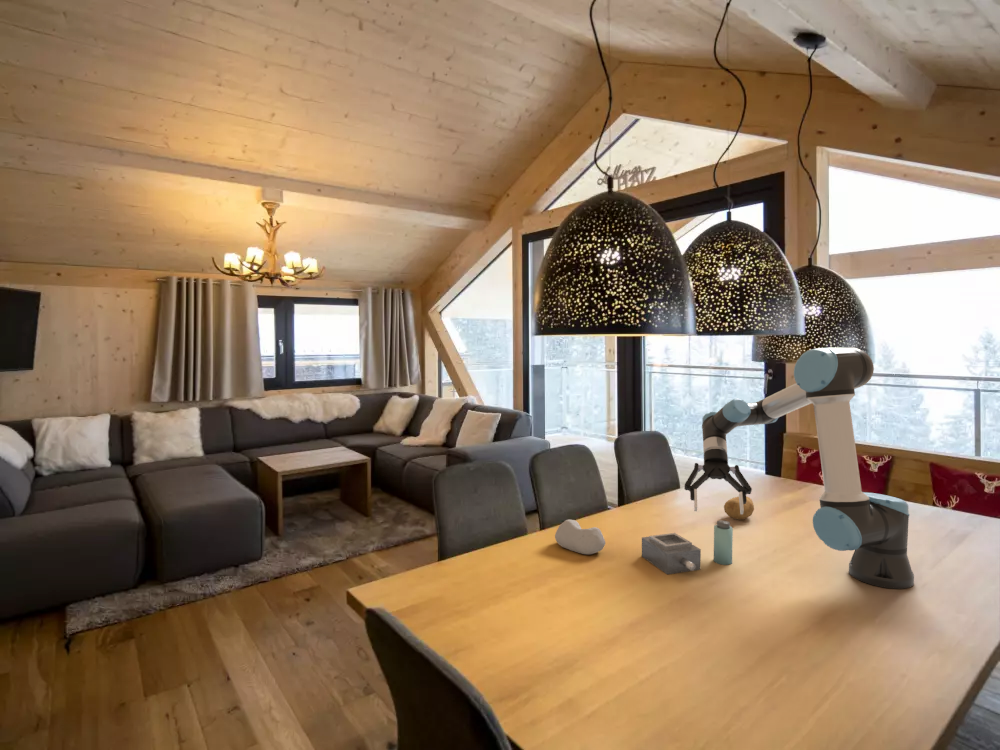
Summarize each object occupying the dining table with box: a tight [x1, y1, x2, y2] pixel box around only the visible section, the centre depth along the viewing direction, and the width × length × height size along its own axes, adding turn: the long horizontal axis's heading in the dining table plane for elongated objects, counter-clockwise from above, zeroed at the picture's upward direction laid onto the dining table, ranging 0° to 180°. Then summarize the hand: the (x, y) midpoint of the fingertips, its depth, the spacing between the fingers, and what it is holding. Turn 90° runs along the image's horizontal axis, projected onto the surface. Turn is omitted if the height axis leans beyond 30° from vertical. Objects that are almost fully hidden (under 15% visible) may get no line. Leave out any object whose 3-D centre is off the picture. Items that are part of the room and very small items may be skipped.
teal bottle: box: [713, 520, 734, 566], centre depth 171 cm, size 5×5×12 cm
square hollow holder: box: [641, 532, 702, 575], centre depth 170 cm, size 20×11×7 cm, turn 16°
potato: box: [723, 495, 755, 520], centre depth 211 cm, size 10×14×8 cm
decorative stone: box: [554, 519, 606, 556], centre depth 183 cm, size 17×10×10 cm
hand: (718, 510), depth 179 cm, fingers open, 13 cm apart
